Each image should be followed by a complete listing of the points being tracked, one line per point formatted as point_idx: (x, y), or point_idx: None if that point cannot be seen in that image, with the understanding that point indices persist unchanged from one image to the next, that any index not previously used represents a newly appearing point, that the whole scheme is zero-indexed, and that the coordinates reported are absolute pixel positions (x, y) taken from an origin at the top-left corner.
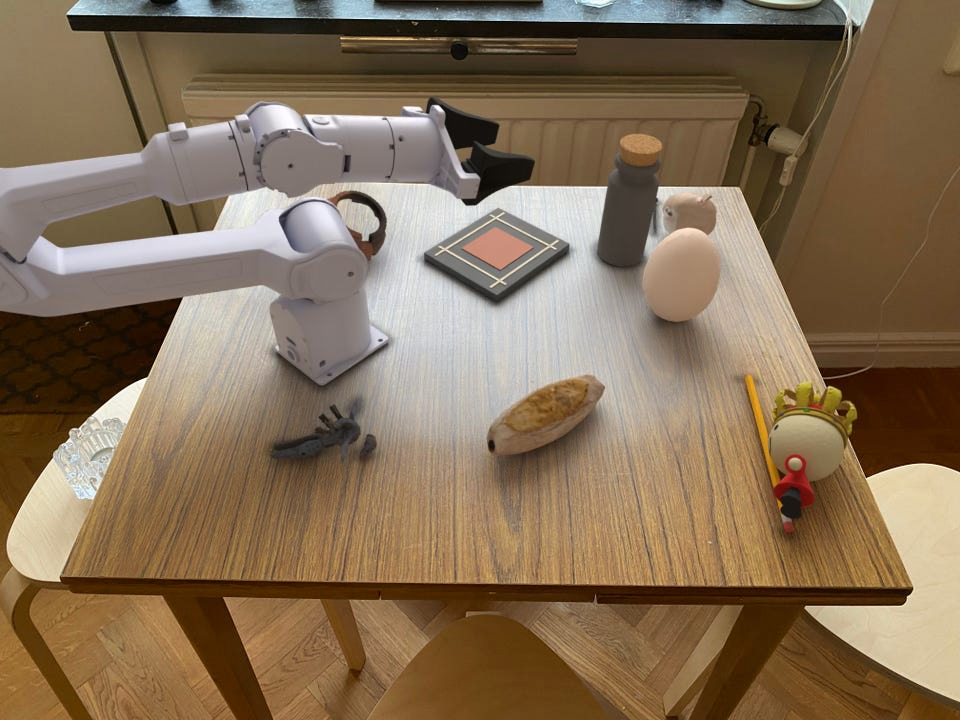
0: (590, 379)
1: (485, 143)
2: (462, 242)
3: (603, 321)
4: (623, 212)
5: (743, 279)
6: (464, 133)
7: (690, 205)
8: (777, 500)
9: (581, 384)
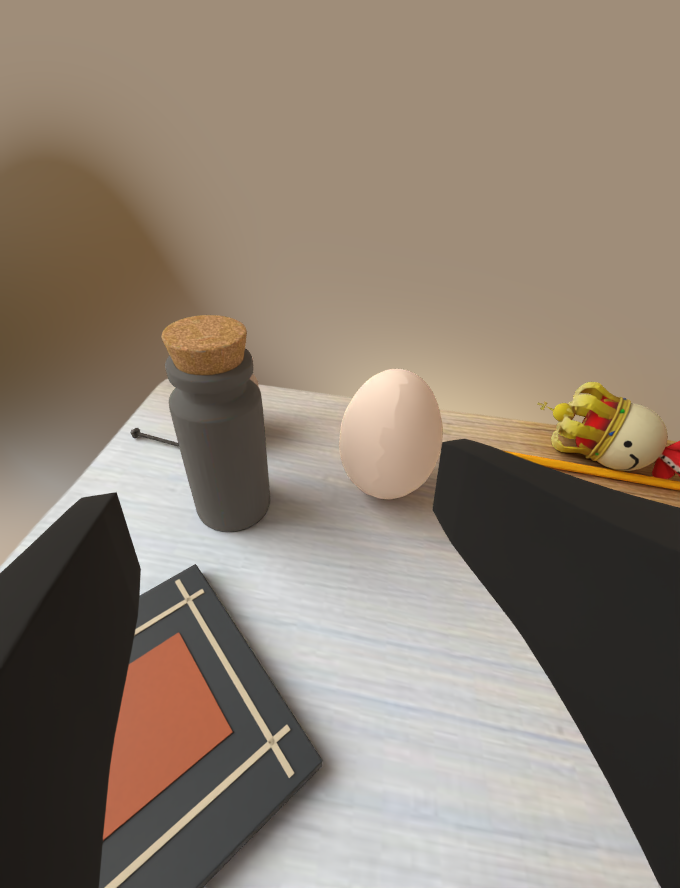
0: None
1: (134, 611)
2: None
3: (391, 567)
4: (253, 445)
5: (323, 410)
6: (73, 726)
7: None
8: (664, 485)
9: None
